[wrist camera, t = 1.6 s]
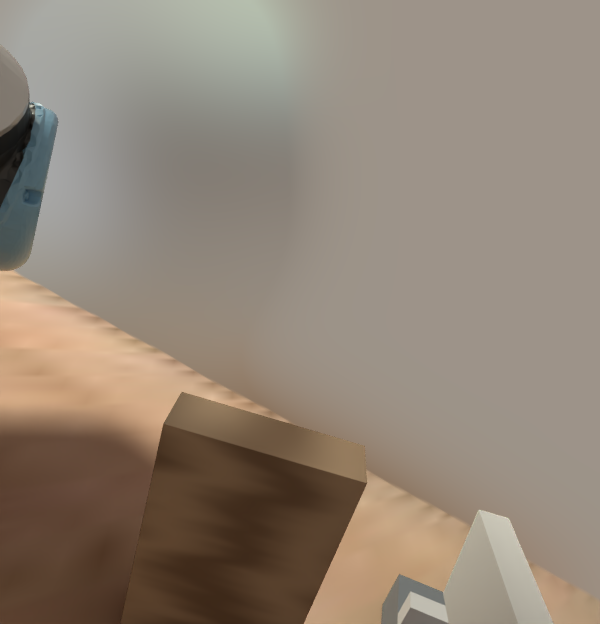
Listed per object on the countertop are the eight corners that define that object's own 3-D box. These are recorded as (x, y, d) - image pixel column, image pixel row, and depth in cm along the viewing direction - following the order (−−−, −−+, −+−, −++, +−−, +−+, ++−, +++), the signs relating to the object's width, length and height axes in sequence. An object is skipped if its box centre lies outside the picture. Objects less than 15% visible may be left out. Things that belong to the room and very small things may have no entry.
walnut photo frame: (119, 630, 26) (163, 423, 20) (138, 585, 28) (182, 390, 23) (280, 674, 26) (366, 483, 21) (285, 627, 29) (364, 444, 23)
